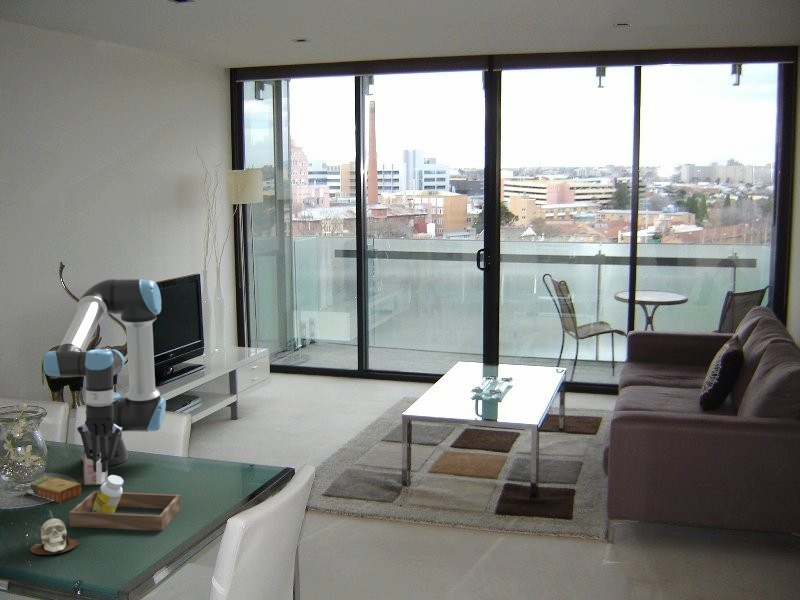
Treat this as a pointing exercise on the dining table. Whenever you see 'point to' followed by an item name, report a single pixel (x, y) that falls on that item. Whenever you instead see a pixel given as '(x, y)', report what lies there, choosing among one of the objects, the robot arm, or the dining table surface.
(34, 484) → the carton
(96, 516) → the walnut frame
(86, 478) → the white red printed box
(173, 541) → the dining table surface
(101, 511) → the pill bottle
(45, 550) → the skull
